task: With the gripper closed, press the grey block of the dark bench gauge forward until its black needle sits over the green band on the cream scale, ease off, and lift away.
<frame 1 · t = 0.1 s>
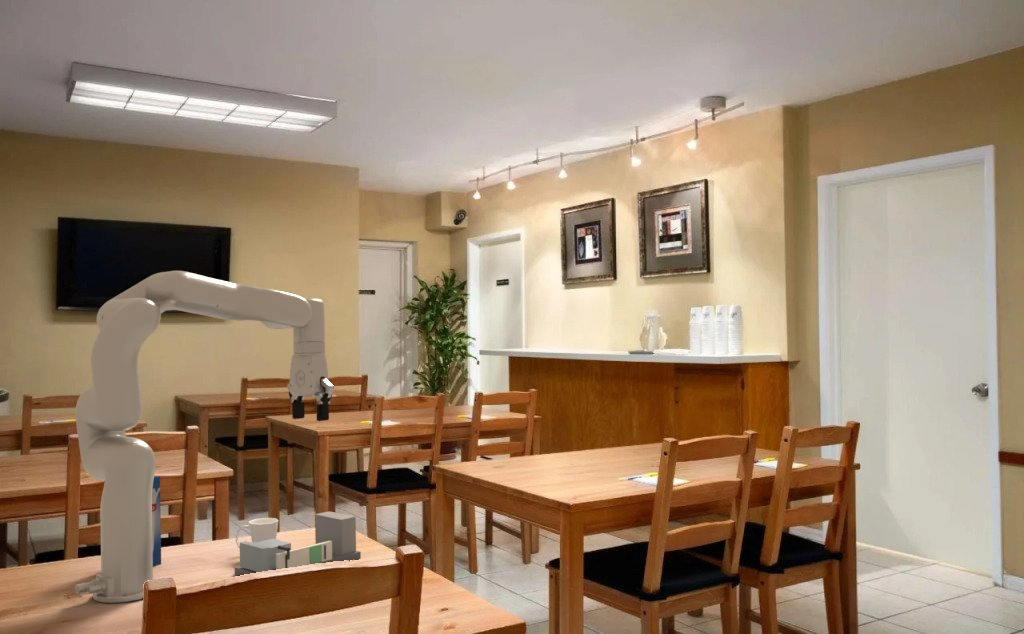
hand: (310, 419, 205), 31 cm above the table, tool pointing down, fingers open, 9 cm apart
grey block: (270, 555, 181), point 4 cm above the table, slide at 0.0 cm
cup: (257, 556, 198), on the table
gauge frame: (301, 565, 189), on the table
milk carton: (133, 568, 190), on the table
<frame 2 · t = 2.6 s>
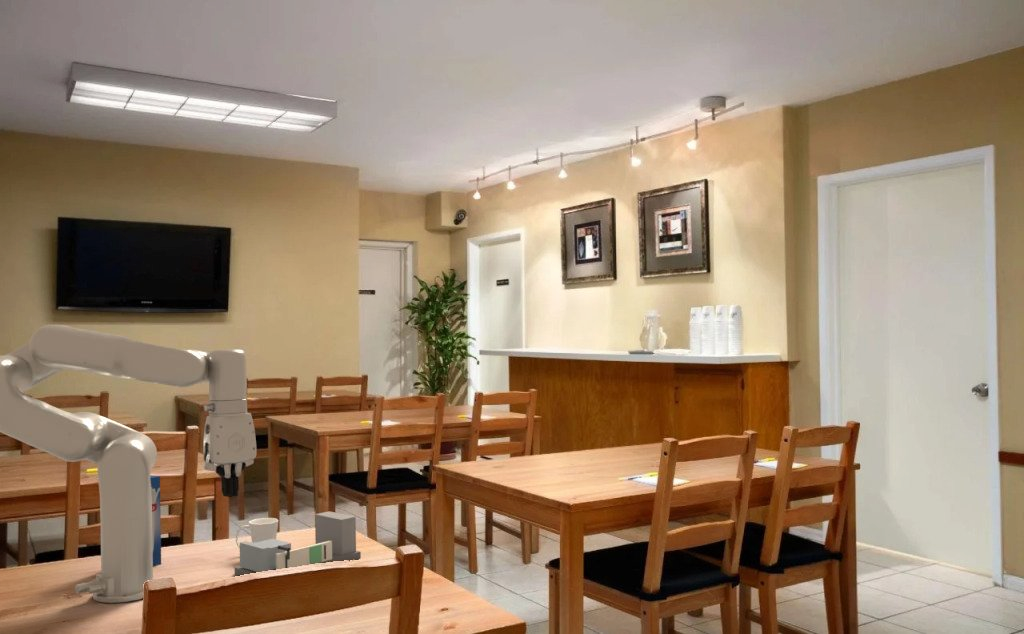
hand: (230, 495, 176), 18 cm above the table, tool pointing down, fingers closed
nothing on the table moved.
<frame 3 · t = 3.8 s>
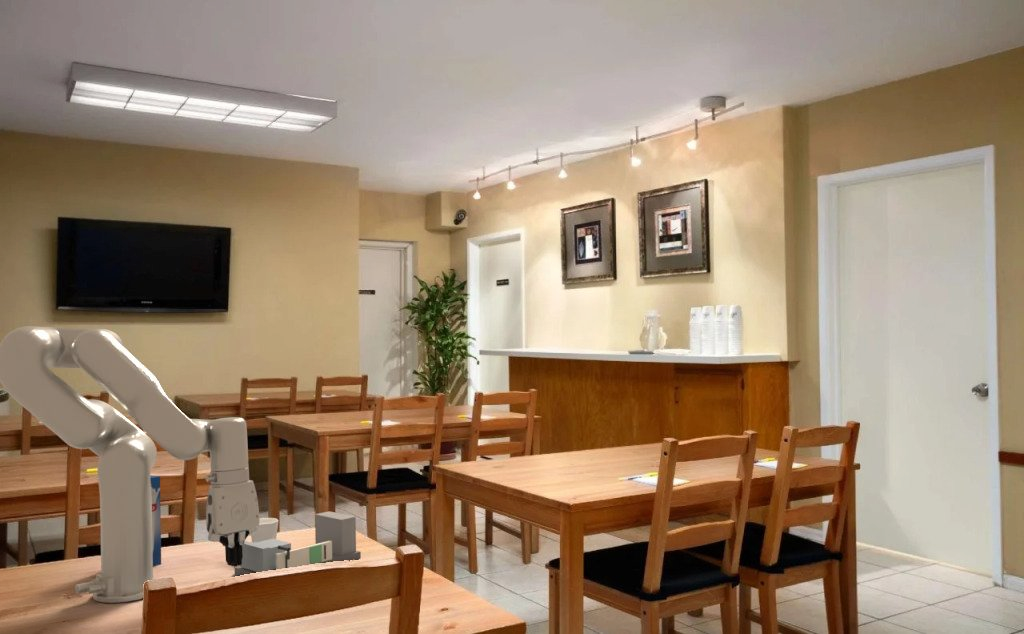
hand: (234, 564, 176), 4 cm above the table, tool pointing down, fingers closed
nothing on the table moved.
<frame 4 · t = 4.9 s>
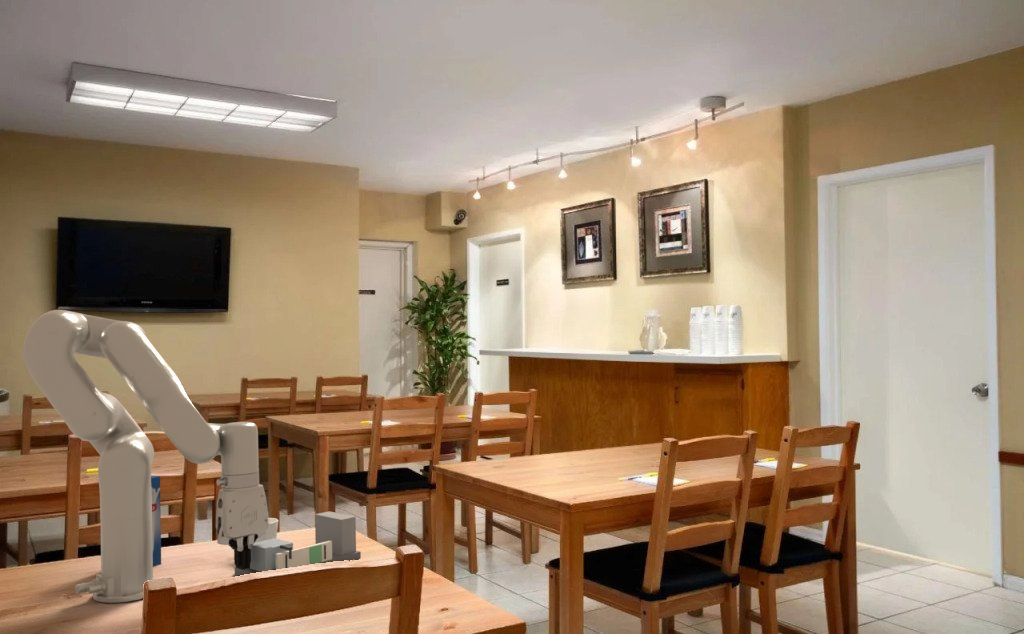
hand: (242, 567, 178), 3 cm above the table, tool pointing down, fingers closed
grey block: (272, 554, 182), point 4 cm above the table, slide at 0.5 cm, touching gripper
everything else where it was.
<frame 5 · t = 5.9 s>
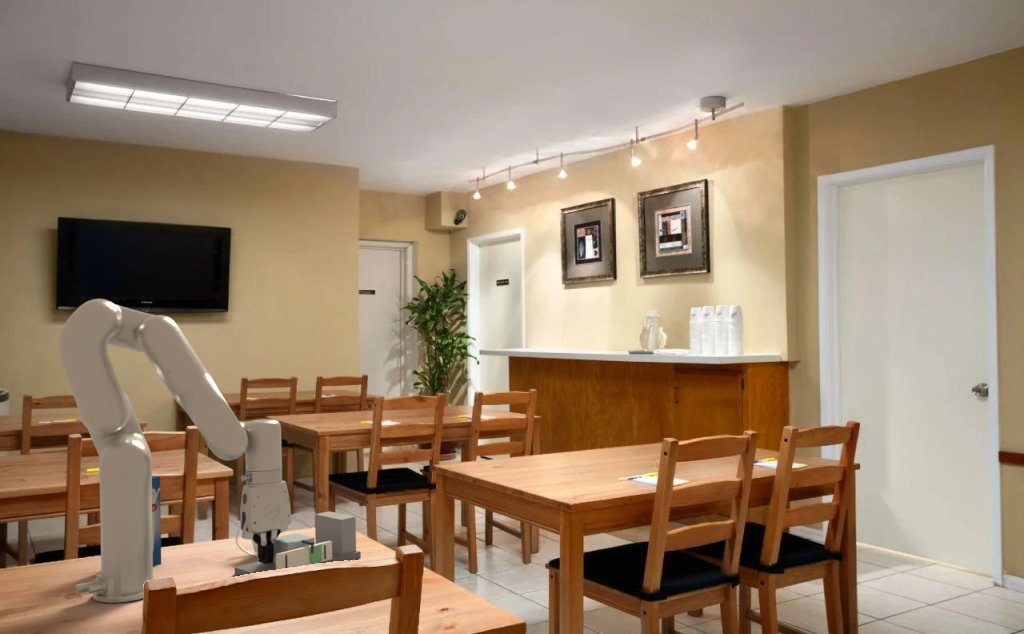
hand: (266, 562, 182), 3 cm above the table, tool pointing down, fingers closed
grey block: (294, 549, 186), point 4 cm above the table, slide at 6.2 cm, touching gripper
everything else where it was.
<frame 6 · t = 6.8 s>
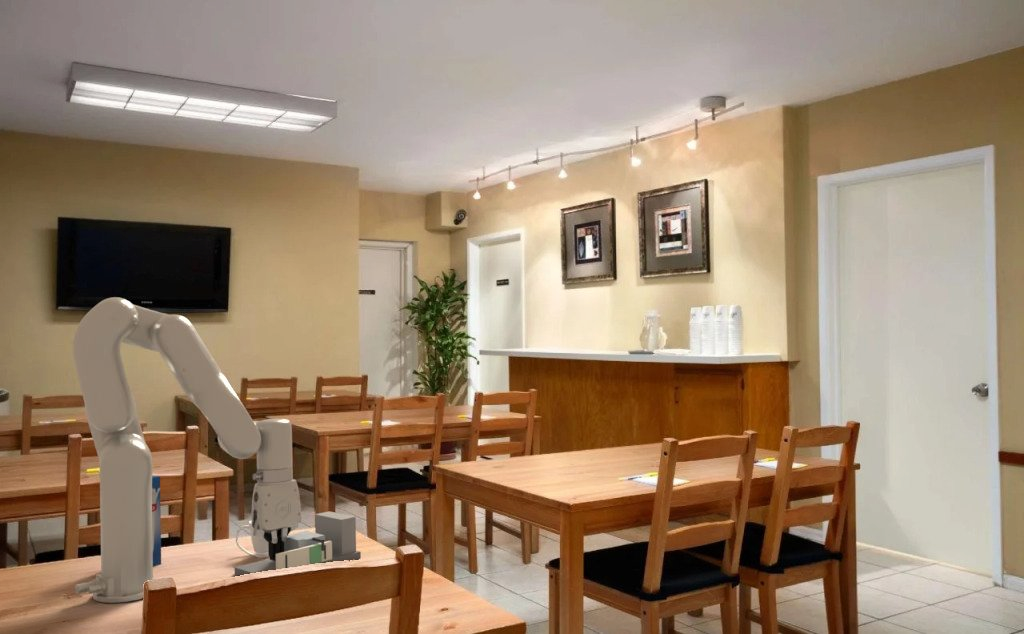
hand: (276, 559, 184), 3 cm above the table, tool pointing down, fingers closed
grey block: (304, 546, 188), point 4 cm above the table, slide at 8.9 cm, touching gripper
everything else where it was.
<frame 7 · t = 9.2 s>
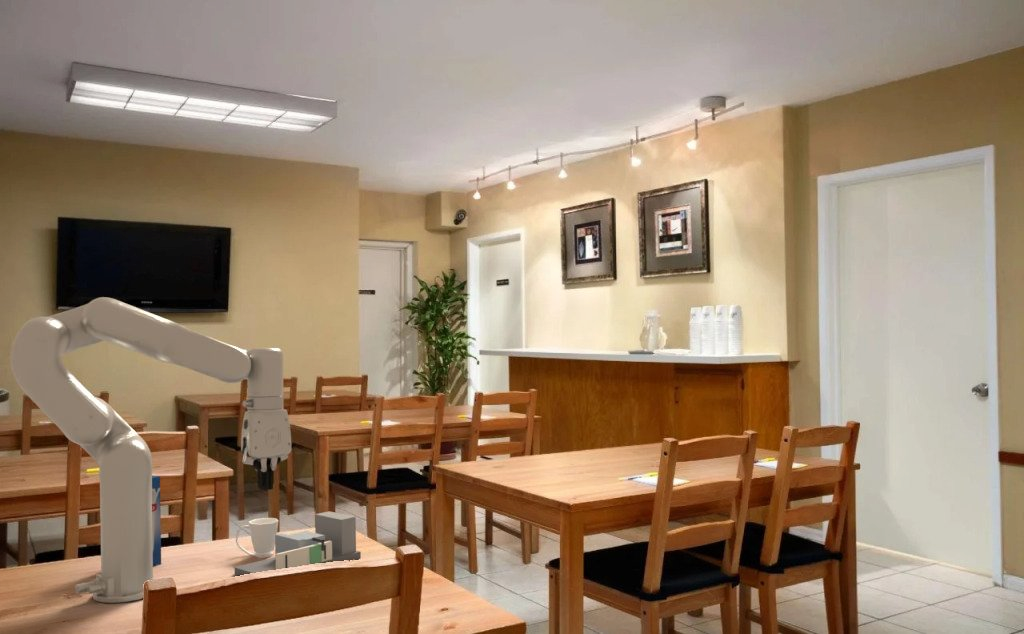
hand: (265, 488, 182), 18 cm above the table, tool pointing down, fingers closed
grey block: (304, 546, 188), point 4 cm above the table, slide at 8.9 cm
everything else where it was.
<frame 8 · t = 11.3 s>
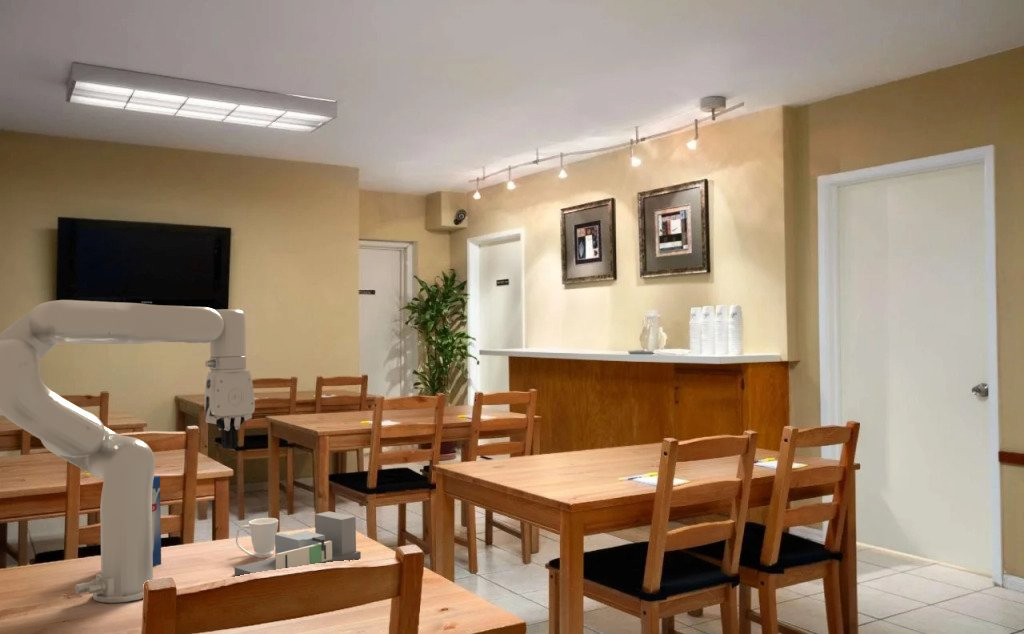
hand: (229, 447, 186), 27 cm above the table, tool pointing down, fingers closed
nothing on the table moved.
at the end: grey block slide at 8.9 cm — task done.
